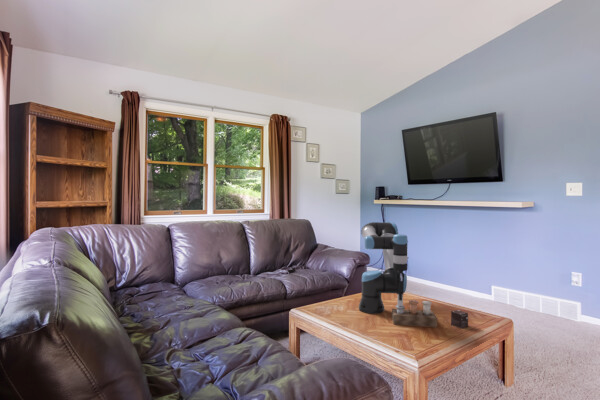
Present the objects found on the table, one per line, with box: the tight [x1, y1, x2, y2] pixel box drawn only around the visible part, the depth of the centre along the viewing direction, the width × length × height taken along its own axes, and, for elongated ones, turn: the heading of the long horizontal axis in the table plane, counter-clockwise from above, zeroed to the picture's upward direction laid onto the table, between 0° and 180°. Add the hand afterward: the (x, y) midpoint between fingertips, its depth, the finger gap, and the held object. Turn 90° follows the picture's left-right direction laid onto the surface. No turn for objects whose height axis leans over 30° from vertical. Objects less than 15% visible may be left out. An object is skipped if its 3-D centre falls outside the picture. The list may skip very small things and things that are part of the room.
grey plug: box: [395, 304, 406, 314], centre depth 183 cm, size 5×5×8 cm
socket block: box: [391, 308, 438, 328], centre depth 181 cm, size 22×11×5 cm, turn 79°
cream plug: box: [421, 300, 432, 315], centre depth 180 cm, size 5×5×8 cm
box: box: [450, 309, 469, 329], centre depth 177 cm, size 6×6×7 cm
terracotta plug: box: [408, 299, 419, 315], centre depth 181 cm, size 5×5×8 cm
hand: (400, 305), depth 183 cm, fingers closed
